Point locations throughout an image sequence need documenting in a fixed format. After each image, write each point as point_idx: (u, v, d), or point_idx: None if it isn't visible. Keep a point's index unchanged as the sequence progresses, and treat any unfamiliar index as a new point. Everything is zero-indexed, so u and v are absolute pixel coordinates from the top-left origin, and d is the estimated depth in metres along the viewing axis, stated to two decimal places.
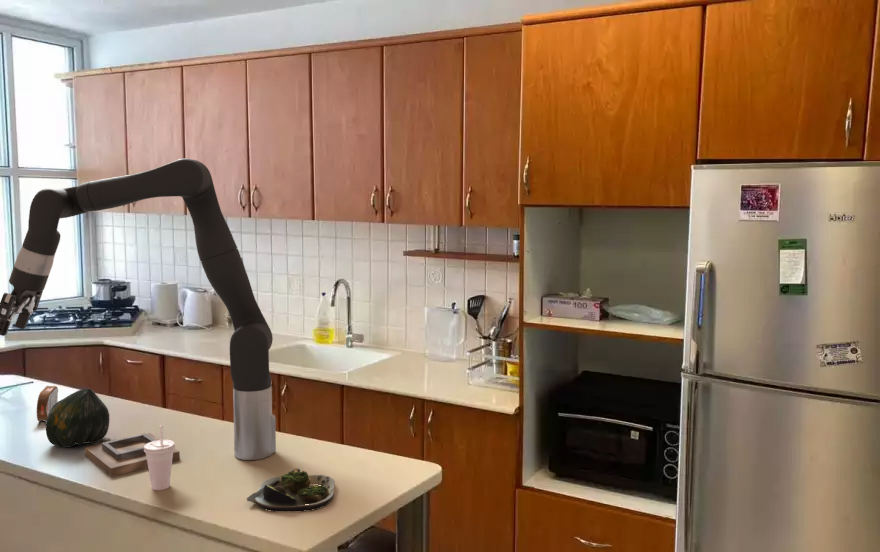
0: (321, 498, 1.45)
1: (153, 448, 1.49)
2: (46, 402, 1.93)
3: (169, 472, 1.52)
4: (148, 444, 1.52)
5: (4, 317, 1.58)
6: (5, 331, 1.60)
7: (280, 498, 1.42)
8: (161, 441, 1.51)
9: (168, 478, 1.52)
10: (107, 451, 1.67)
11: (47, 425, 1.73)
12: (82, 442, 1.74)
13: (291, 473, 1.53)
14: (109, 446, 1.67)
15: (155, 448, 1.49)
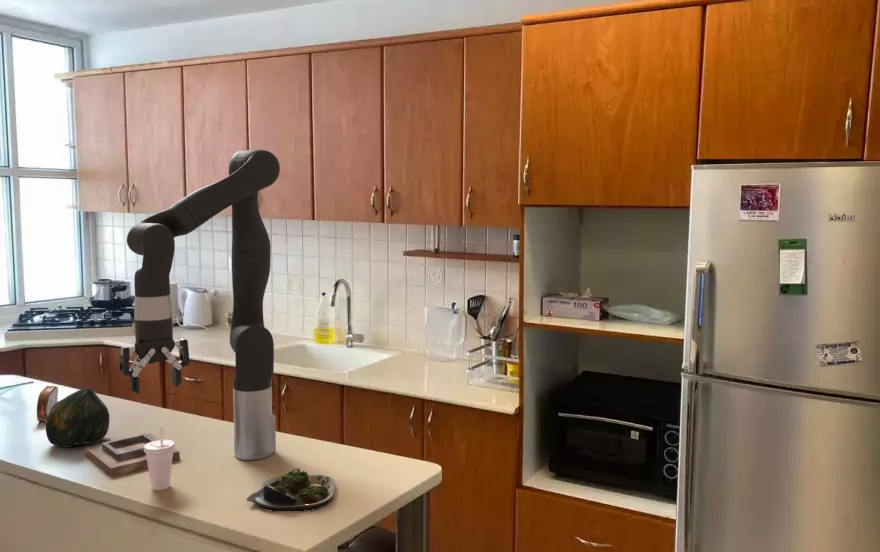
0: (321, 498, 1.45)
1: (153, 448, 1.49)
2: (46, 402, 1.93)
3: (169, 472, 1.52)
4: (148, 444, 1.52)
5: None
6: None
7: (280, 498, 1.42)
8: (160, 441, 1.51)
9: (168, 478, 1.52)
10: (107, 451, 1.67)
11: (47, 425, 1.73)
12: (82, 442, 1.74)
13: (291, 473, 1.53)
14: (109, 446, 1.67)
15: (155, 448, 1.49)
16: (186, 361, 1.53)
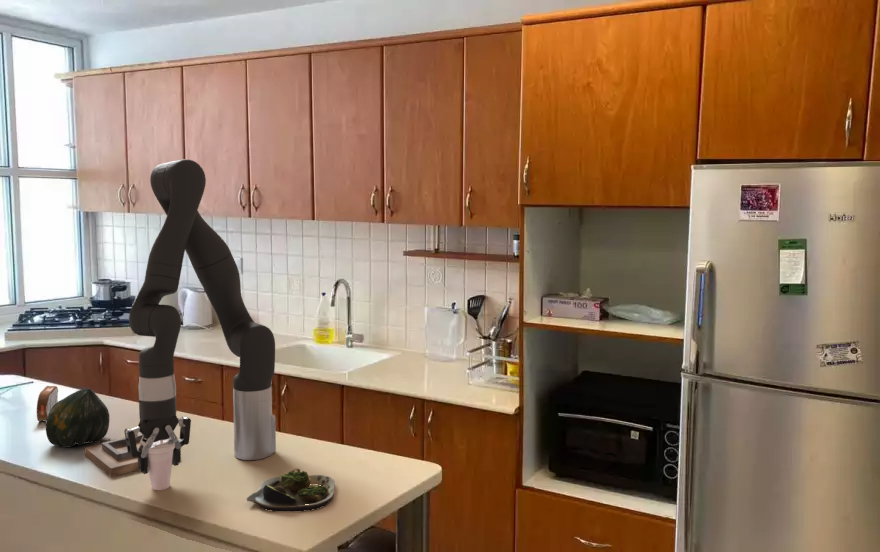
0: (321, 499, 1.45)
1: (153, 448, 1.49)
2: (46, 402, 1.93)
3: (169, 472, 1.52)
4: None
5: None
6: None
7: (280, 498, 1.42)
8: (160, 441, 1.51)
9: (168, 478, 1.52)
10: (107, 451, 1.67)
11: (47, 425, 1.73)
12: (82, 442, 1.74)
13: (291, 473, 1.53)
14: (109, 446, 1.67)
15: (155, 448, 1.49)
16: (185, 440, 1.55)
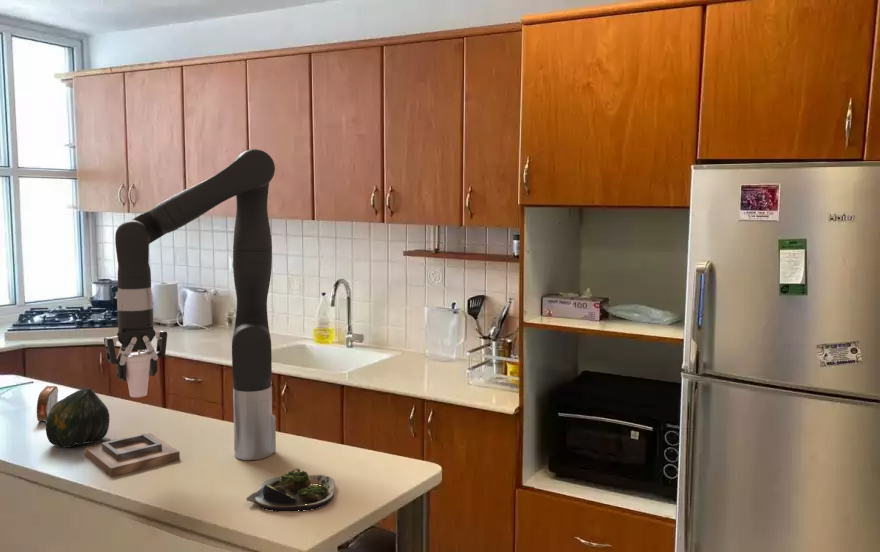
0: (321, 498, 1.45)
1: (131, 357, 1.58)
2: (46, 402, 1.93)
3: (146, 381, 1.61)
4: None
5: None
6: None
7: (279, 498, 1.42)
8: (138, 351, 1.60)
9: (146, 387, 1.61)
10: (107, 451, 1.67)
11: (47, 425, 1.73)
12: (82, 442, 1.74)
13: (291, 473, 1.53)
14: (109, 446, 1.67)
15: (133, 357, 1.58)
16: (162, 352, 1.64)
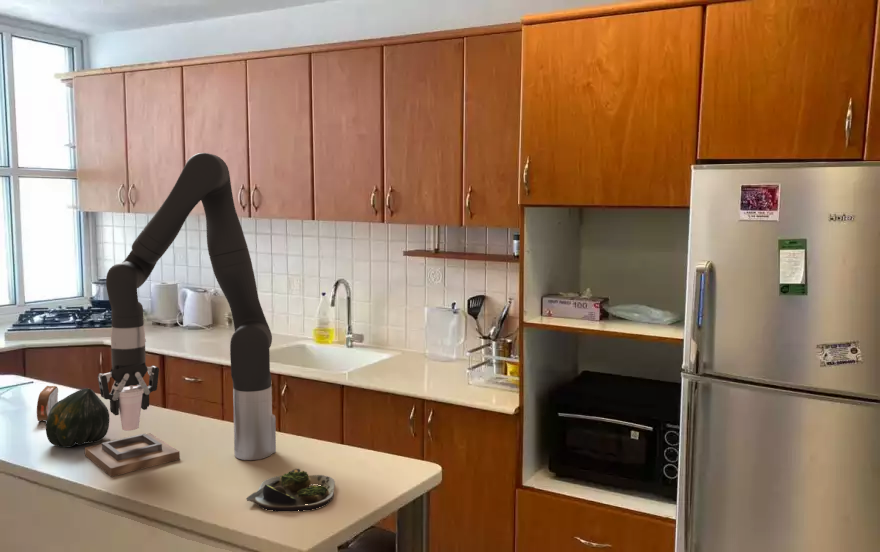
0: (321, 498, 1.45)
1: (123, 392, 1.65)
2: (46, 402, 1.93)
3: (138, 415, 1.68)
4: None
5: None
6: None
7: (279, 498, 1.42)
8: (131, 386, 1.67)
9: (138, 420, 1.68)
10: (107, 451, 1.67)
11: (47, 425, 1.73)
12: (82, 442, 1.74)
13: (291, 473, 1.53)
14: (109, 446, 1.67)
15: (125, 392, 1.66)
16: (154, 387, 1.71)
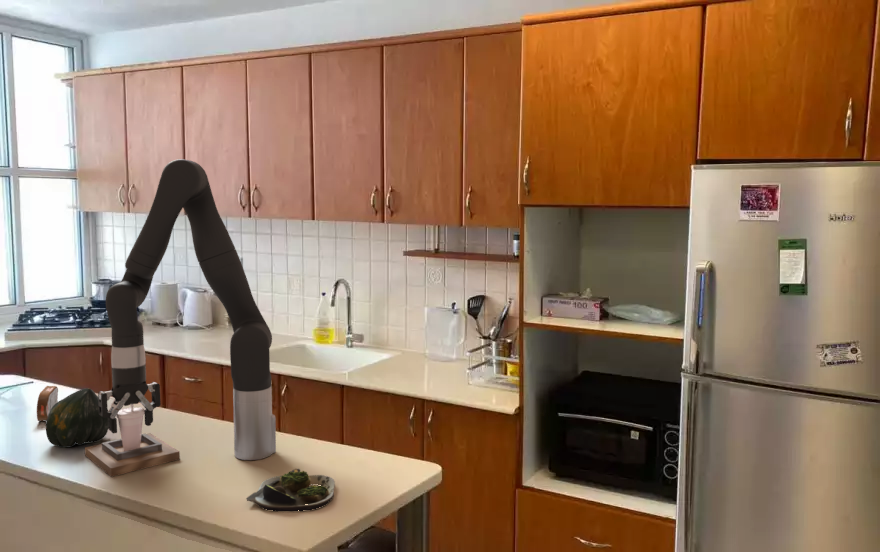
0: (321, 498, 1.45)
1: (124, 414, 1.66)
2: (46, 402, 1.93)
3: (139, 436, 1.69)
4: (120, 411, 1.69)
5: None
6: None
7: (279, 498, 1.42)
8: (131, 408, 1.68)
9: (139, 441, 1.69)
10: (107, 451, 1.67)
11: (47, 425, 1.73)
12: (82, 442, 1.74)
13: (291, 473, 1.53)
14: (109, 446, 1.67)
15: (126, 414, 1.66)
16: (157, 403, 1.72)
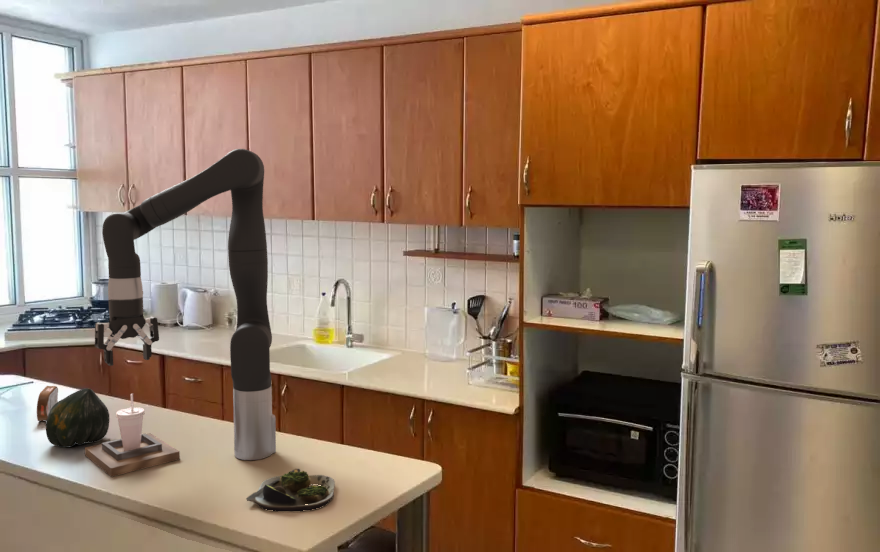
0: (321, 499, 1.45)
1: (124, 414, 1.66)
2: (46, 402, 1.93)
3: (139, 436, 1.69)
4: (120, 411, 1.68)
5: None
6: None
7: (279, 498, 1.42)
8: (131, 408, 1.68)
9: (139, 441, 1.69)
10: (107, 451, 1.67)
11: (47, 425, 1.73)
12: (82, 442, 1.74)
13: (291, 473, 1.53)
14: (109, 446, 1.67)
15: (126, 414, 1.66)
16: (156, 337, 1.70)
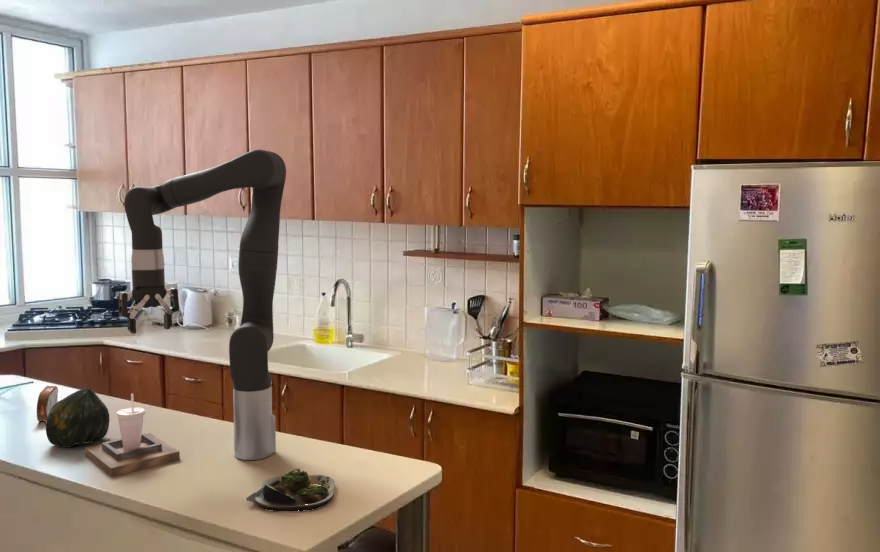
0: (321, 498, 1.45)
1: (125, 414, 1.66)
2: (46, 402, 1.93)
3: (139, 436, 1.69)
4: (120, 411, 1.68)
5: None
6: None
7: (279, 498, 1.42)
8: (132, 408, 1.68)
9: (139, 441, 1.69)
10: (107, 451, 1.67)
11: (47, 425, 1.73)
12: (82, 442, 1.74)
13: (291, 473, 1.53)
14: (109, 446, 1.67)
15: (126, 414, 1.66)
16: (176, 307, 1.77)
